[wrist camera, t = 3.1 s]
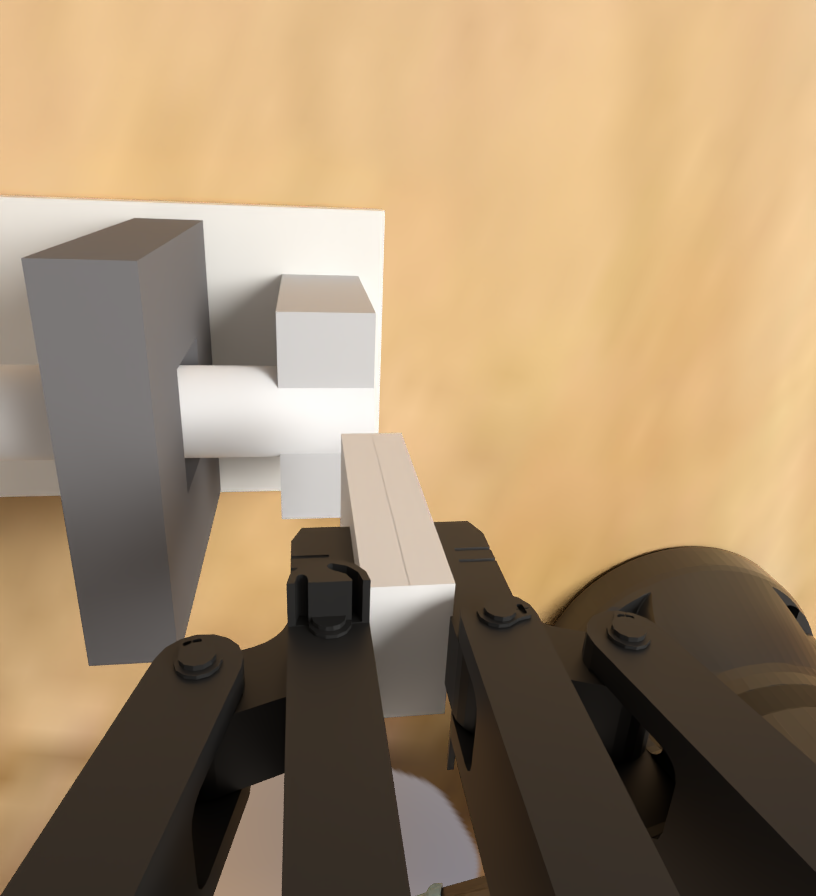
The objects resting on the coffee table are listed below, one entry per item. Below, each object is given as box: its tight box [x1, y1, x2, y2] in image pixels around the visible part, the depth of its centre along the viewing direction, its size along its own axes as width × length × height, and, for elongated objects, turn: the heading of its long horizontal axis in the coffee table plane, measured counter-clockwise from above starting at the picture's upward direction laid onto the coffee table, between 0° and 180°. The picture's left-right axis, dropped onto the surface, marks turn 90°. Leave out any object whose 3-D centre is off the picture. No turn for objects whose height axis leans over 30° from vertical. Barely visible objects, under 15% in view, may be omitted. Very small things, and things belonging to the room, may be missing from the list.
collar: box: [21, 218, 221, 666], centre depth 22 cm, size 2×11×11 cm, turn 177°
